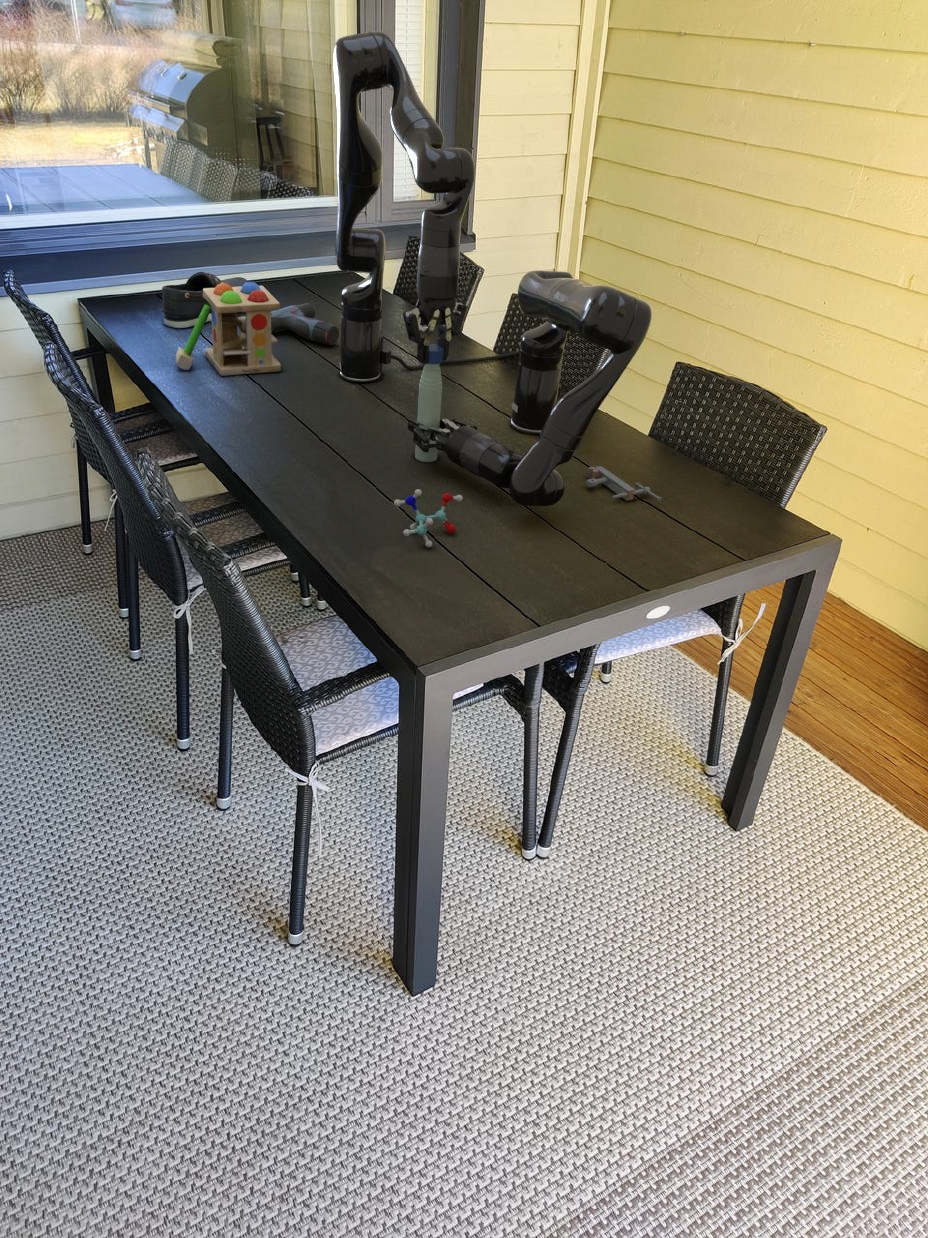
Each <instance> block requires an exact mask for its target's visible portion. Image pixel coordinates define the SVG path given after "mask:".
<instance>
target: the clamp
mask: <svg viewBox="0 0 928 1238" xmlns="http://www.w3.org/2000/svg"><path fill="white" fill-rule="evenodd" d="M587 478H588V479H586V482H585V485H586V486H587V487H589V488H593V487H598V486H599V485H601V484H603V485H604V486H606V487H607V488H608V489H609V490H611V491H613V492H614V493H615V494H614V495H612V496H611V497H612V499H621V498H622V499H623V500H625V501H632V500H633V499H634V496H636V495H639V494H642V495H646V494H649V495H650V496H651V497H653V498H654V499H656V500H657V502H659V503H660V502H661V501H662V500H663V498H662V496H658V495H657V494H655V493H654V492H652V491H651V488H650V486H644V485H642V484H641V483H640V482H639V481H638V482H637V481H636V483H635V484H634V485H635V488H639V489H635V488H633V487H632V486H631V485H629V484H628V483H626V482H625V481H623V480H622V479H620V478H619V477H618V476H617V475H615V474H614V473H613V472H611V471H609V470H608V469H606V468H605V467H603V466H602V465H599V466H595V467H594V466H590V467H588V470H587Z"/></svg>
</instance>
